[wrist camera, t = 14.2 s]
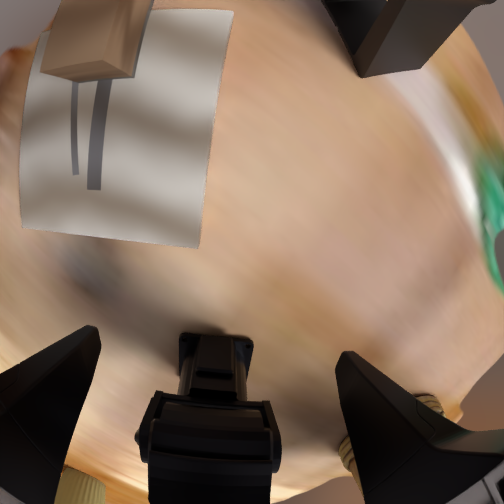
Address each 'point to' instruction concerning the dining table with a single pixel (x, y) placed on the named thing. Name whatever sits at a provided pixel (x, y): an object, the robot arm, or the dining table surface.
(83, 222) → the board
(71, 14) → the block
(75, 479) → the potted cactus
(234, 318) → the dining table surface
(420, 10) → the phone stand
